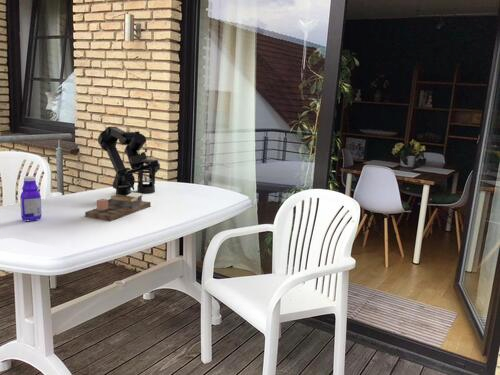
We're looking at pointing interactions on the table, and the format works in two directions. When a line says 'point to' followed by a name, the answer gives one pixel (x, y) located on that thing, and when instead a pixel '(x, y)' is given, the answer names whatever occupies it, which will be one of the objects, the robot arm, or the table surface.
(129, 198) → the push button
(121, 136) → the robot arm
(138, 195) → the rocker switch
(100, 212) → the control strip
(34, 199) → the bottle
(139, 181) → the french press
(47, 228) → the table surface
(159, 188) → the table surface
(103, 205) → the peach tinted cube
